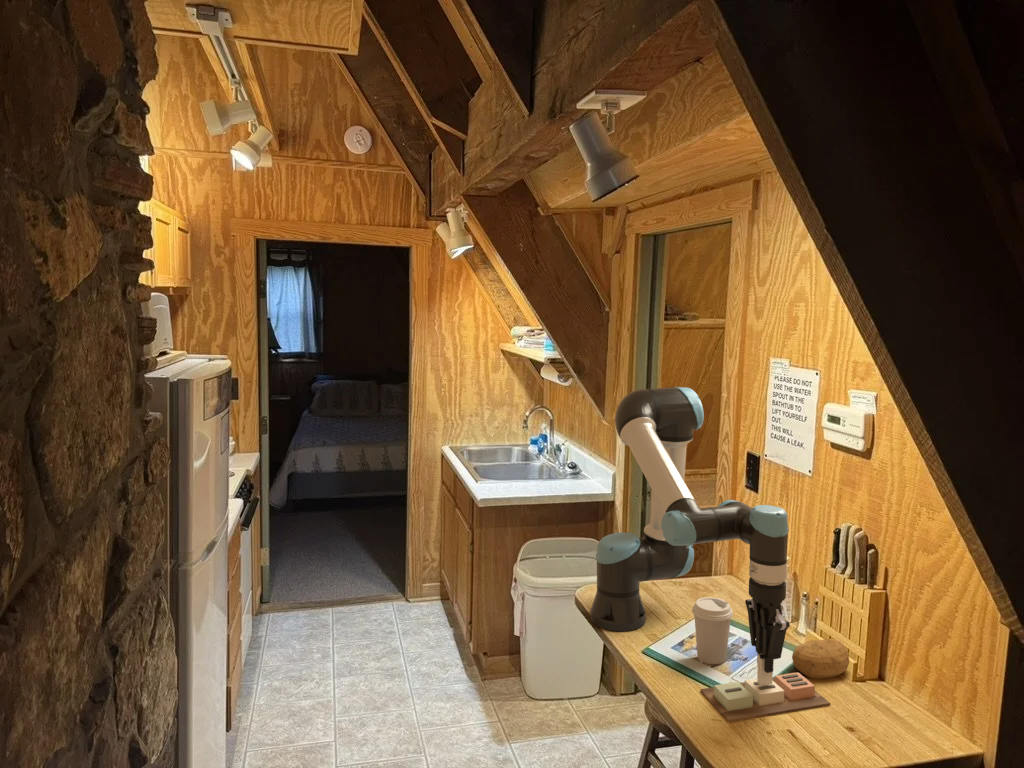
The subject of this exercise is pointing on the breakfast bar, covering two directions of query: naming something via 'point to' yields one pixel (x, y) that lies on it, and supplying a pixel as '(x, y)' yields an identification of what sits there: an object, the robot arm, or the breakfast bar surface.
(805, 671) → the potato
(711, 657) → the coffee cup
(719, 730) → the breakfast bar surface
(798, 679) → the tile
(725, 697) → the slotted block
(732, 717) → the board
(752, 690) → the tile
